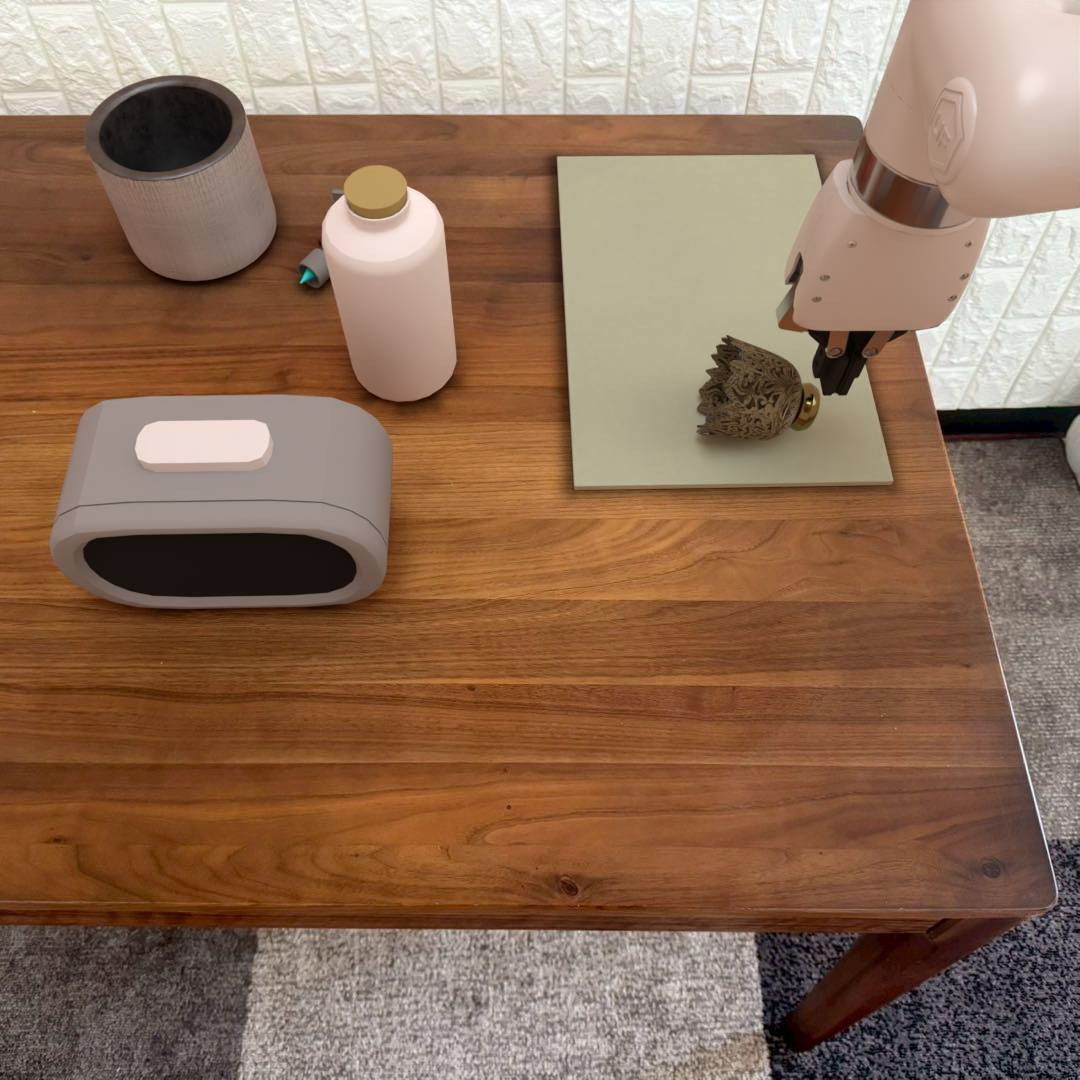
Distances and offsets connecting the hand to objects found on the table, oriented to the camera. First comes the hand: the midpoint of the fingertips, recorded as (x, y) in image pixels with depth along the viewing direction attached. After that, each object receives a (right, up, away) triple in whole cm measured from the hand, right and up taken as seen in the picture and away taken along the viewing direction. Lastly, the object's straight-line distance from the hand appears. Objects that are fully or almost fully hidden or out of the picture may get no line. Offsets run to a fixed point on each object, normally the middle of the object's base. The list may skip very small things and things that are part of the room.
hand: (830, 379), depth 68 cm
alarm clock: (-41, -13, +1) cm, 43 cm away
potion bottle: (-31, +3, +9) cm, 33 cm away
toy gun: (-35, +12, +15) cm, 39 cm away
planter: (-50, +15, +16) cm, 55 cm away
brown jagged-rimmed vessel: (0, -2, +4) cm, 4 cm away
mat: (-7, +8, +13) cm, 16 cm away
